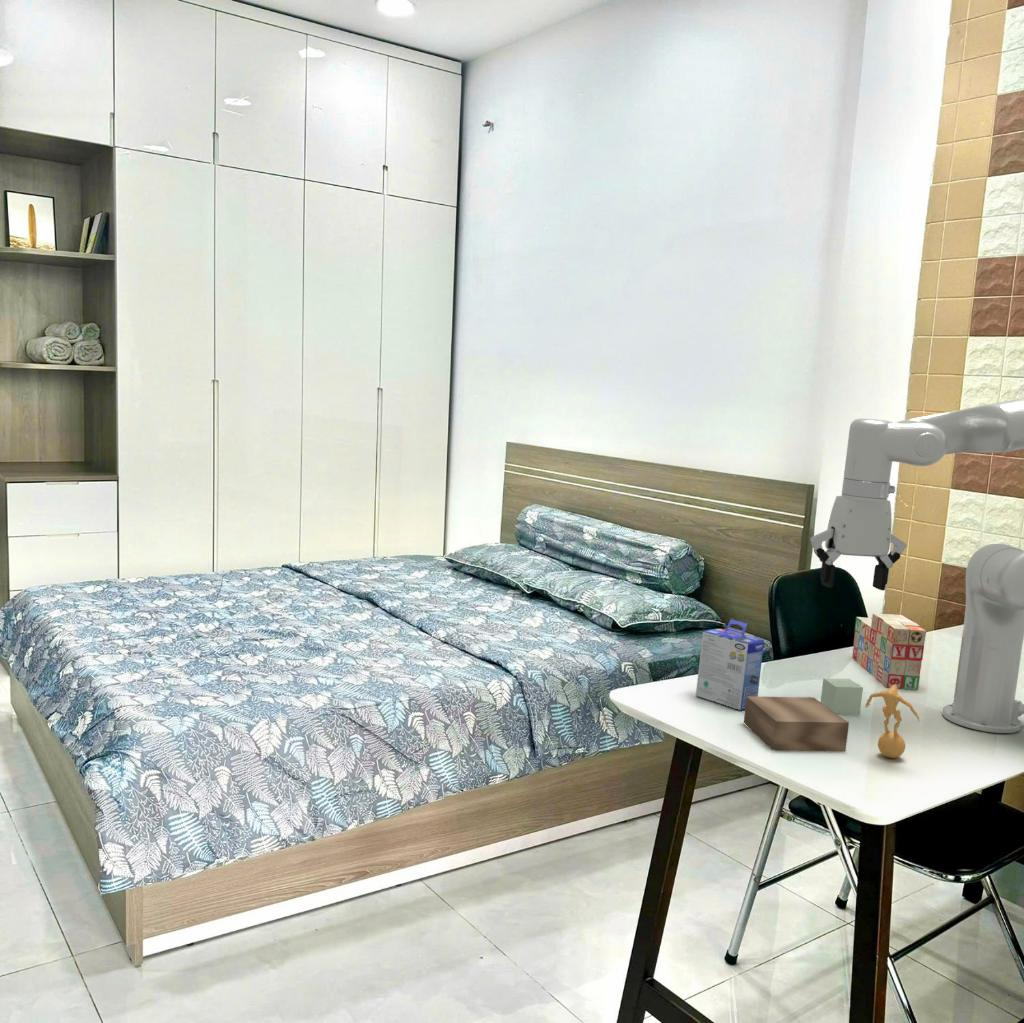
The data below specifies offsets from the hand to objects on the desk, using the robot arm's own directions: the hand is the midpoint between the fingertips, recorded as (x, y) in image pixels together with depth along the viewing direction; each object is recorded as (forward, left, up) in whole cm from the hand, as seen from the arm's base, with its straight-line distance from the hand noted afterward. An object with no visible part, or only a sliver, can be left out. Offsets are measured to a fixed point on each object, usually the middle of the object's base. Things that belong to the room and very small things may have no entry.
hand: (852, 587), depth 170 cm
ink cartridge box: (+20, -3, -22) cm, 30 cm away
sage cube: (0, 0, -22) cm, 22 cm away
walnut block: (+15, +14, -23) cm, 30 cm away
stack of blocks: (-21, -23, -23) cm, 39 cm away
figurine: (+3, +23, -22) cm, 32 cm away
